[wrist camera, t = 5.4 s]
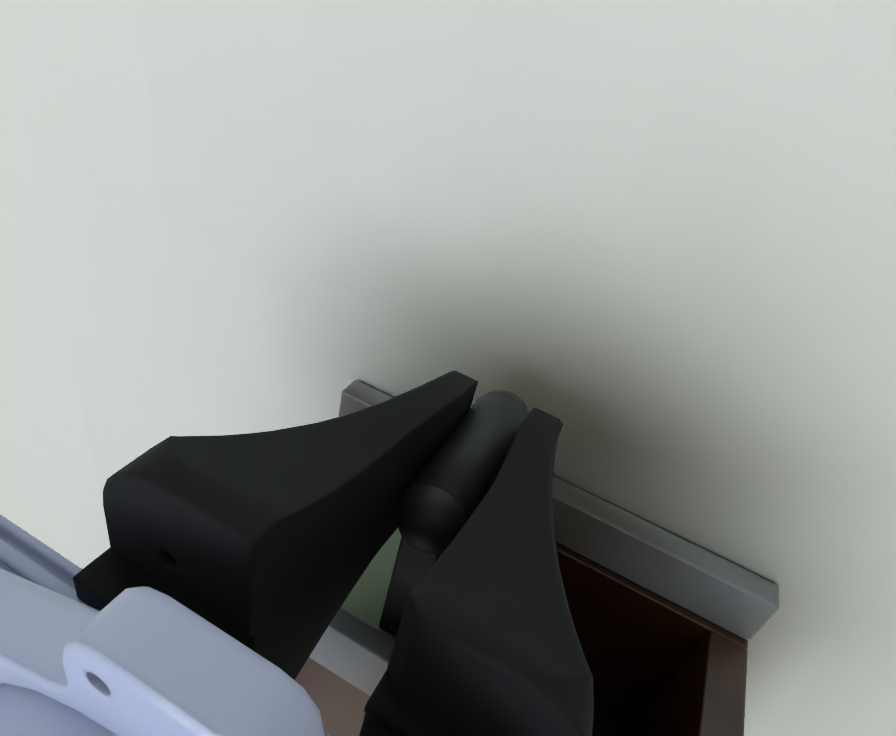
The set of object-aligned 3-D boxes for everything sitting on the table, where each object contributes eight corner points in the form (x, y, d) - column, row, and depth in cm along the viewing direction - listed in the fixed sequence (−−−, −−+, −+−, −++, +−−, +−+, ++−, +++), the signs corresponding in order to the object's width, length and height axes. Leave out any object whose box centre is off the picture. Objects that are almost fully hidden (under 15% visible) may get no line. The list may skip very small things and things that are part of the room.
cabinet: (331, 534, 23) (187, 699, 17) (355, 378, 19) (174, 531, 13) (660, 721, 20) (613, 998, 14) (780, 584, 16) (782, 904, 10)
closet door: (340, 432, 19) (208, 556, 14) (360, 294, 16) (204, 396, 11) (540, 535, 17) (459, 711, 13) (602, 402, 14) (524, 568, 10)
